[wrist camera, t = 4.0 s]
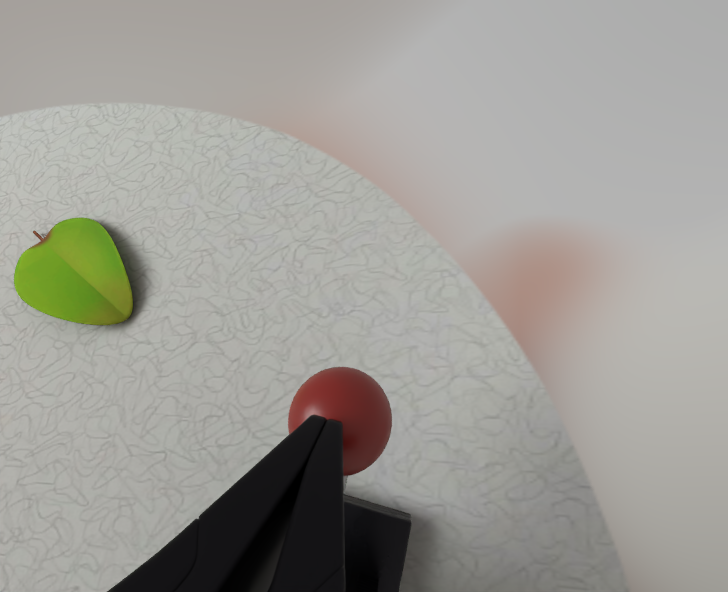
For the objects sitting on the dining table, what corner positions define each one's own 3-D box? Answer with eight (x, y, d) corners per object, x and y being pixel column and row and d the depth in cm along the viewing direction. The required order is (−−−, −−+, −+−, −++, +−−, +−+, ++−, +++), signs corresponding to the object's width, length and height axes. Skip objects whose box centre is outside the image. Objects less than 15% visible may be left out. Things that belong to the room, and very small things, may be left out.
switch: (316, 350, 13) (284, 366, 10) (403, 371, 12) (398, 394, 9) (245, 696, 13) (190, 822, 10) (328, 729, 13) (297, 874, 9)
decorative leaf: (128, 205, 26) (119, 198, 25) (139, 318, 23) (129, 314, 22) (21, 235, 25) (8, 229, 24) (19, 354, 22) (3, 352, 21)
